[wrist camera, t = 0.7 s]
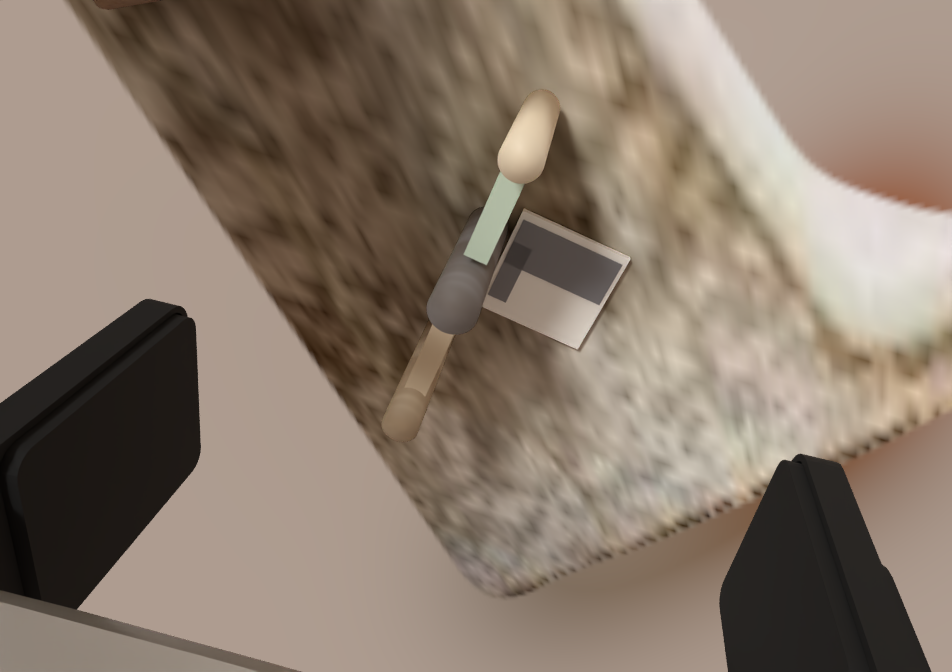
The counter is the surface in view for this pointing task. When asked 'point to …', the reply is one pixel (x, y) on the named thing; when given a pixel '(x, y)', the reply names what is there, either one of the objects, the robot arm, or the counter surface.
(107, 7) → the wooden block
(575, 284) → the card
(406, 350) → the counter surface
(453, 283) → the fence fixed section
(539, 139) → the fence swing section
